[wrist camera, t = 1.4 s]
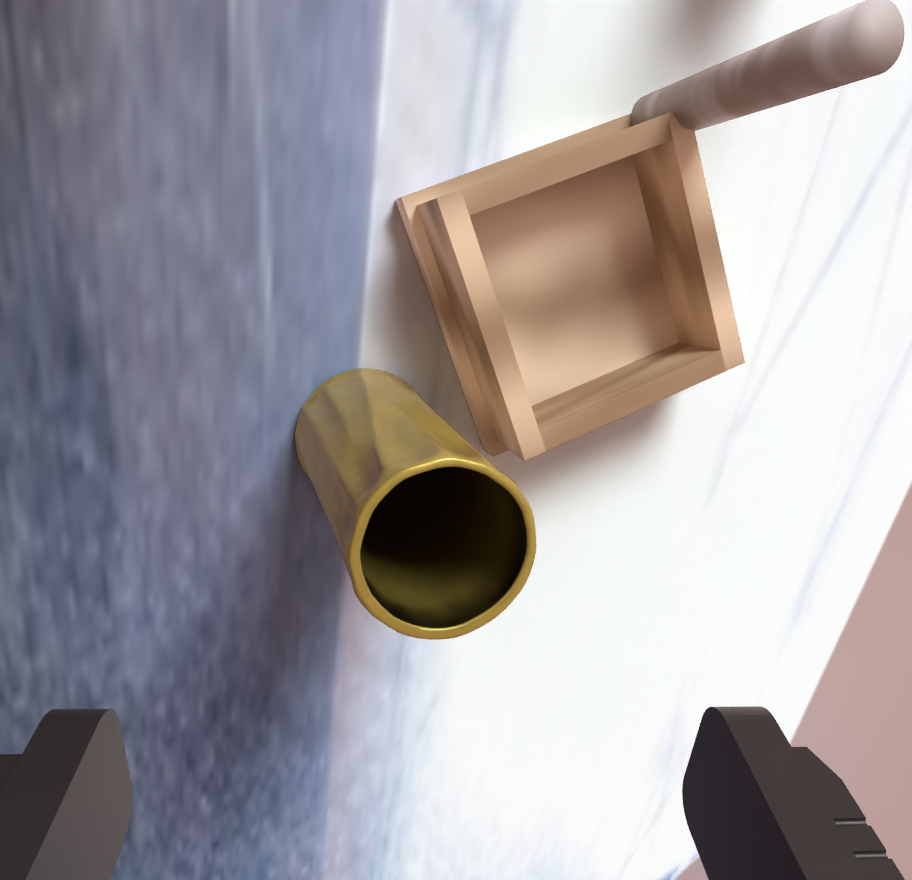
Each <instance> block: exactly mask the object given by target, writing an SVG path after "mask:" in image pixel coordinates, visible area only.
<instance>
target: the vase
mask: <svg viewBox="0 0 912 880" xmlns="http://www.w3.org/2000/svg"><path fill="white" fill-rule="evenodd" d="M295 443H296V449H297V454H298V458H299V461H300V463H301V466H302V468H303V470H304V471H305V473H306V474H307V475H308V476H309V478H310V480H311V481H312V483H313V485H314V487H315V490H316V493H317V495H318V498H319V501H320V503H321V505H322V508H323V510H324V512H325V514H326V517H327V519H328V520H329V522H330V524H331V527H332V529H333V531H334V534H335V536H336V538H337V541H338V543H339V546H340V550H341V553H342V556H343V559H344V562H345V564H346V567H347V570H348V572H349V575H350V578H351V581H352V584H353V589H354V592H355V594H356V596H357V598H358V599H359V601H360V602H361V604H362V605H363V606H364V607H365V608H366V609H367V610H368V611H369V612H370V613H371V615H372V616H374V617H375V618H376V619H378V620H379V621H381V622H382V623H384V624H385V625H387V626H388V627H390V628H392V629H393V630H395V631H397V632H398V633H401V634H404V635H407V636H411V637H415V638H421V639H449V638H455V637H459V636H462V635H465V634H467V633H469V632H472V631H474V630H476V629H478V628H480V627H482V626H483V625H485V624H487V623H488V622H490V621H491V620H493V619H494V618H495V617H497V616H498V615H499V614H500V613H501V612H503V611H504V610H505V609H506V608H507V607H508V605H509V604H510V603H511V602H512V601H513V600H514V599H515V597H516V596H517V595H518V594H519V592H520V591H521V590H522V588H523V586H524V585H525V583H526V581H527V579H528V577H529V574H530V572H531V569H532V566H533V562H534V558H535V553H536V531H535V522H534V517H533V513H532V509H531V507H530V505H529V503H528V501H527V500H526V498H525V497H524V495H523V493H522V492H521V491H520V489H519V488H518V487H517V485H516V484H515V482H514V481H513V480H511V479H510V478H509V477H507V476H506V475H504V474H503V473H502V472H500V471H499V470H498V469H497V468H496V467H495V466H493V465H492V464H491V463H490V462H489V461H488V460H487V459H486V458H485V457H484V456H483V455H482V454H481V453H479V452H478V451H477V450H476V449H475V448H474V447H473V446H472V445H470V444H469V443H468V442H467V441H466V440H465V439H464V438H463V437H462V436H461V435H459V434H458V433H457V432H456V431H455V430H454V429H453V428H452V427H451V426H450V425H449V424H447V423H446V422H445V421H444V420H443V419H442V418H441V417H440V416H438V415H437V414H436V413H435V412H434V411H433V410H432V409H431V408H430V407H429V406H428V405H427V404H426V403H425V402H424V401H423V400H422V399H421V398H420V397H419V395H418V393H417V392H416V391H415V390H414V389H413V388H412V387H411V386H410V385H408V384H407V383H406V382H404V381H403V380H401V379H400V378H398V377H396V376H394V375H393V374H390V373H388V372H385V371H381V370H376V369H355V370H349V371H346V372H343V373H340V374H338V375H336V376H334V377H331V378H330V379H328V380H327V381H325V382H324V383H322V384H321V385H320V386H319V387H318V388H317V389H316V390H315V392H314V393H313V394H312V395H311V396H310V397H309V399H308V400H307V401H306V402H305V404H304V405H303V407H302V409H301V412H300V414H299V418H298V422H297V426H296V431H295Z"/></svg>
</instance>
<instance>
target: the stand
mask: <svg viewBox="0 0 912 880" xmlns="http://www.w3.org/2000/svg"><path fill="white" fill-rule="evenodd" d="M903 41H904V25H903V20H902V17H901V14H900V12H899V10H898V9H897V7H896V6H895V5H894V4H893V3H892V2H891V1H889V0H866V1H863V2H861V3H859V4H857V5H854V6H852V7H850V8H847V9H845V10H843V11H840V12H838V13H836V14H833V15H831V16H829V17H826V18H824V19H822V20H819V21H817V22H815V23H813V24H810V25H808V26H806V27H803V28H801V29H799V30H796V31H794V32H792V33H789V34H787V35H785V36H782V37H780V38H778V39H775V40H773V41H771V42H769V43H766V44H764V45H762V46H759V47H757V48H755V49H752V50H750V51H748V52H745V53H743V54H741V55H738V56H736V57H734V58H731V59H729V60H727V61H725V62H722V63H720V64H718V65H715V66H713V67H711V68H708V69H706V70H704V71H701V72H699V73H697V74H694V75H692V76H690V77H688V78H685V79H683V80H681V81H678V82H676V83H674V84H671V85H669V86H667V87H664V88H662V89H660V90H657V91H655V92H653V93H650V94H648V95H646V96H644V97H642V98H640V99H639V100H638V101H637V102H636V104H635V105H634V107H633V109H632V113H631V114H629V115H626V116H624V117H621V118H618V119H615V120H613V121H610V122H607V123H604V124H602V125H599V126H596V127H593V128H591V129H588V130H585V131H582V132H580V133H577V134H574V135H571V136H569V137H566V138H563V139H560V140H558V141H555V142H552V143H549V144H547V145H544V146H541V147H538V148H536V149H533V150H530V151H527V152H525V153H522V154H519V155H516V156H514V157H511V158H508V159H505V160H503V161H500V162H497V163H494V164H492V165H489V166H486V167H483V168H481V169H478V170H475V171H472V172H470V173H467V174H464V175H461V176H458V177H456V178H453V179H450V180H447V181H445V182H442V183H439V184H436V185H434V186H431V187H428V188H425V189H423V190H420V191H417V192H414V193H412V194H409V195H406V196H403V197H401V198H399V199H396V203H397V206H398V209H399V212H400V214H401V217H402V220H403V223H404V226H405V228H406V231H407V234H408V237H409V240H410V243H411V245H412V248H413V251H414V254H415V257H416V259H417V262H418V265H419V268H420V271H421V273H422V276H423V279H424V282H425V285H426V288H427V290H428V293H429V296H430V299H431V302H432V304H433V307H434V310H435V313H436V316H437V319H438V321H439V324H440V327H441V330H442V333H443V335H444V338H445V341H446V344H447V347H448V350H449V352H450V355H451V358H452V361H453V364H454V366H455V369H456V372H457V375H458V378H459V381H460V383H461V386H462V389H463V392H464V395H465V397H466V400H467V403H468V406H469V409H470V412H471V414H472V417H473V420H474V423H475V426H476V428H477V431H478V434H479V437H480V440H481V443H482V445H483V448H484V451H486V452H487V453H488V454H490V455H491V456H492V457H493V456H495V455H497V454H500V453H502V452H504V451H506V450H510V451H511V452H513V453H514V454H516V455H517V456H519V457H520V458H522V459H523V460H524V461H526V460H528V459H530V458H532V457H535V456H537V455H539V454H541V453H544V452H546V451H548V450H550V449H553V448H555V447H557V446H559V445H561V444H564V443H566V442H568V441H570V440H573V439H575V438H577V437H579V436H582V435H584V434H586V433H588V432H591V431H593V430H595V429H597V428H600V427H602V426H604V425H606V424H608V423H611V422H613V421H615V420H617V419H620V418H622V417H624V416H626V415H629V414H631V413H633V412H635V411H638V410H640V409H642V408H644V407H646V406H649V405H651V404H653V403H655V402H658V401H660V400H662V399H664V398H667V397H669V396H671V395H673V394H676V393H678V392H680V391H682V390H685V389H687V388H689V387H691V386H693V385H696V384H698V383H700V382H702V381H705V380H707V379H709V378H711V377H714V376H716V375H718V374H720V373H723V372H725V371H727V370H729V369H732V368H734V367H736V366H738V365H740V364H743V363H745V361H744V357H743V352H742V347H741V343H740V338H739V334H738V329H737V325H736V320H735V315H734V311H733V306H732V302H731V297H730V292H729V288H728V283H727V279H726V274H725V270H724V265H723V260H722V256H721V251H720V247H719V242H718V237H717V233H716V228H715V224H714V219H713V215H712V210H711V205H710V201H709V196H708V192H707V187H706V182H705V178H704V173H703V169H702V164H701V160H700V155H699V150H698V146H697V141H696V137H695V132H694V131H696V130H699V129H702V128H706V127H709V126H712V125H715V124H719V123H722V122H725V121H728V120H732V119H735V118H738V117H742V116H745V115H748V114H751V113H755V112H758V111H761V110H764V109H768V108H771V107H774V106H777V105H781V104H784V103H787V102H791V101H794V100H797V99H800V98H804V97H807V96H810V95H813V94H817V93H820V92H823V91H826V90H830V89H833V88H836V87H840V86H843V85H846V84H849V83H853V82H856V81H859V80H862V79H866V78H869V77H872V76H875V75H879V74H882V73H884V72H885V71H887V70H888V69H889V68H891V67H892V65H893V64H894V63H895V62H896V60H897V58H898V57H899V55H900V52H901V49H902V46H903Z"/></svg>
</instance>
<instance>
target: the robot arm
mask: <svg viewBox="0 0 912 880" xmlns="http://www.w3.org/2000/svg"><path fill="white" fill-rule="evenodd" d="M682 793H683V806H684V812H685V817H686V820H687V824H688V827H689V830H690V832H691V835H692V838H693V840H694V843H695V845H696V848H697V851H698V853H699V856H700V858H701V861H702V863H703V866H704V868H705V871H706V874H707V876H708V879H709V880H904V878H903V876H902V874H901V873H900V871H899V870H898V868H897V867H896V865H895V863H894V862H893V860H892V859H888V857H887V855H886V849H885V848H884V846H883V844H882V843H881V841H880V840H879V838H878V837H877V835H876V834H875V832H874V830H873V829H872V827H871V826H868V825H867V824H866V821H865V819H866V817H865V816H864V815H863V813H862V811H861V810H860V808H859V806H858V805H857V803H856V802H855V800H854V799H853V797H852V796H851V794H850V793H849V791H848V789H847V787H846V786H845V784H844V783H843V781H842V780H841V779H840V778H839V777H838V776H837V775H836V774H835V773H834V772H833V771H832V770H831V769H830V768H829V767H828V766H827V765H825V764H824V763H823V762H822V761H821V760H820V759H819V758H818V757H817V756H816V755H815V754H813V752H811V751H810V750H809V749H808V748H807V747H791V746H790V744H789V742H788V741H787V739H786V737H785V735H784V734H783V732H782V730H781V729H780V727H779V725H778V724H777V722H776V720H775V719H774V717H773V716H772V714H771V713H770V712H769V711H768V710H767V709H765V708H763V707H709V708H708V709H706V711H705V712H704V714H703V717H702V720H701V723H700V727H699V730H698V733H697V736H696V740H695V743H694V746H693V749H692V753H691V756H690V759H689V762H688V766H687V769H686V772H685V776H684V780H683V790H682ZM131 808H132V783H131V778H130V773H129V768H128V763H127V758H126V753H125V748H124V743H123V738H122V733H121V728H120V723H119V718H118V715H117V713H116V711H115V710H113V709H54V710H51V711H49V712H48V713H47V714H46V715H45V716H44V717H43V718H42V720H41V722H40V723H39V725H38V727H37V729H36V730H35V732H34V734H33V736H32V738H31V739H30V741H29V743H28V745H27V747H26V748H25V750H24V752H23V754H5V755H0V880H110V878H111V875H112V873H113V870H114V867H115V864H116V862H117V859H118V856H119V853H120V850H121V848H122V845H123V842H124V839H125V836H126V833H127V829H128V825H129V821H130V815H131Z"/></svg>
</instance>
